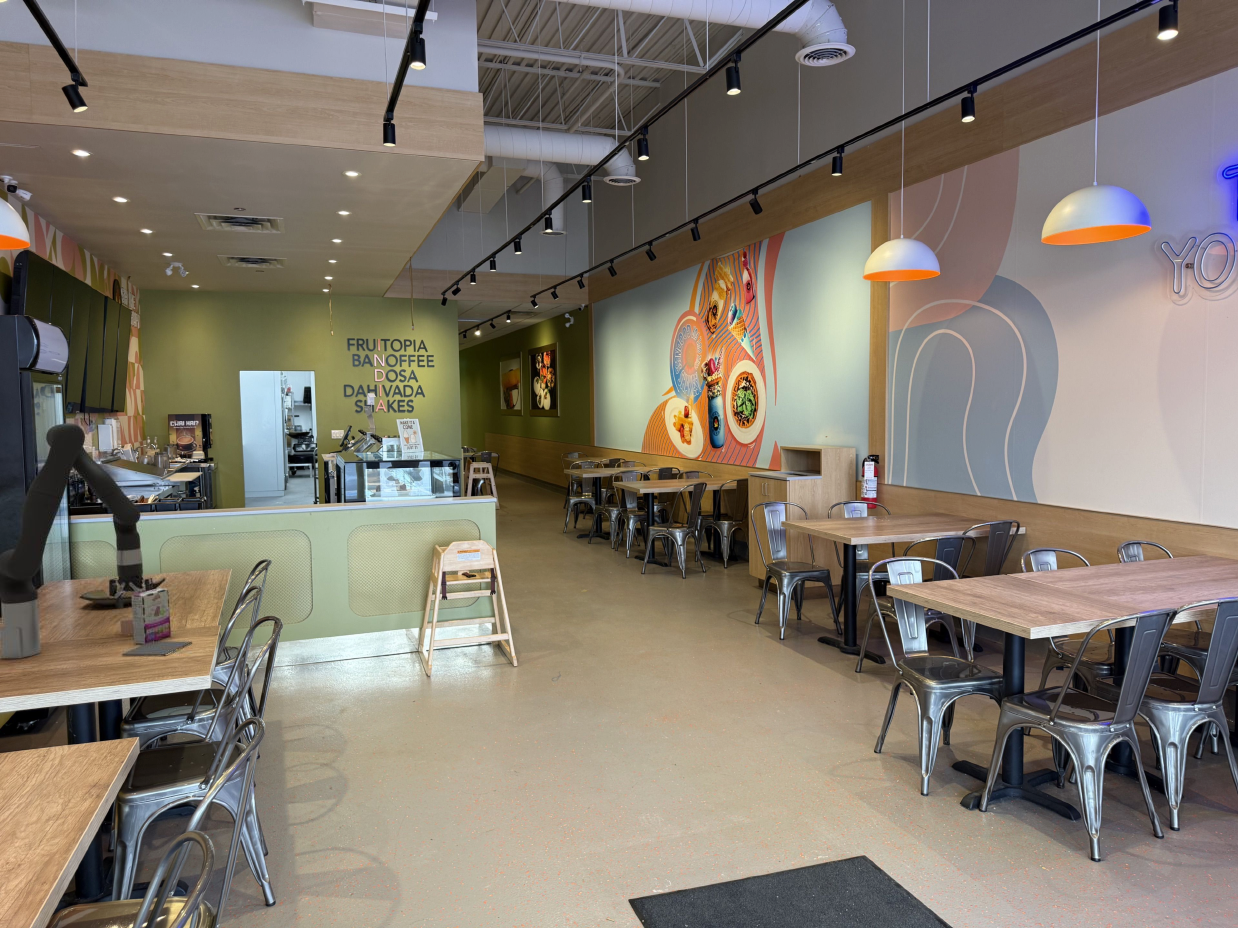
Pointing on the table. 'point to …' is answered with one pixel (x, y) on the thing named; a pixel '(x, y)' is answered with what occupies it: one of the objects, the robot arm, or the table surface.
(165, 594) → the candy bar box
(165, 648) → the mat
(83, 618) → the table surface
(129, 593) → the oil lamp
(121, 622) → the letter cube
